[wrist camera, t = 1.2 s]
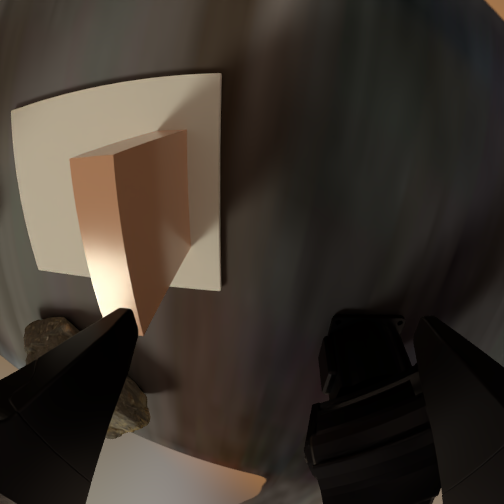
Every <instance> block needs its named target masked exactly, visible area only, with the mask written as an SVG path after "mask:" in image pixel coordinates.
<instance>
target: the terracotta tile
mask: <svg viewBox="0 0 504 504" xmlns="http://www.w3.org/2000/svg"><path fill="white" fill-rule="evenodd" d="M69 160H70V170H71V178H72V185H73V192H74V199H75V205H76V211H77V217H78V222H79V227H80V233H81V237H82V242H83V247H84V251H85V255H86V260H87V264H88V268H89V272H90V276H91V279H92V283H93V287H94V290H95V294H96V297H97V301H98V304H99V307H100V311H101V314H102V317H105V316H107V315H108V314H110V313H111V312H113V311H115V310H116V309H118V308H129V309H131V310H132V311H133V313H134V316H135V320H136V323H137V326H138V331H139V332H138V335H140V336H144V334H145V332H146V330H147V328H148V326H149V324H150V322H151V320H152V318H153V316H154V314H155V313H156V311H157V309H158V307H159V305H160V303H161V301H162V299H163V297H164V295H165V294H166V292H167V290H168V288H169V286H170V284H171V282H172V281H173V279H174V277H175V275H176V273H177V271H178V270H179V268H180V266H181V264H182V262H183V260H184V259H185V257H186V255H187V253H188V251H189V250H190V248H191V238H190V221H189V199H188V169H187V129H184V130H160V131H154V132H150V133H146V134H143V135H139V136H136V137H132V138H129V139H125V140H122V141H119V142H116V143H113V144H110V145H106V146H103V147H100V148H97V149H95V150H92V151H89V152H86V153H83V154H80V155H78V156H75V157H72V158H70V159H69Z"/></svg>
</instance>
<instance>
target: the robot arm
mask: <svg viewBox="0 0 504 504" xmlns="http://www.w3.org/2000/svg"><path fill="white" fill-rule="evenodd" d="M337 320H340V321H338V322H337ZM399 321H400V322H399ZM404 325H405V319H404V317H403V316H401V315H344V314H338V315H335V316H334V317H333V318H332V320H331V324H330V328H329V332H328V336H325V337H324V338H323V342H322V346H321V350H320V353H319V357H318V359H319V368H320V378H321V388H322V392H323V393H324V394H329V401H326V402H323V403H316V404H313V405H312V410H311V414H310V420H309V425H308V431H307V437H306V442H305V447H304V453H305V461H306V463H308V466H309V468H310V471H311V473H312V474H313V476H314V477H315V478H316V479H317V480H318V483H319V486H320V490H321V495H322V500H323V504H432V503H433V500H434V498H435V497H436V496H438V494H439V492H440V489H441V488H442V494H443V495H442V499H443V504H504V367H503V366H501V365H500V364H499V363H497V362H496V361H495V360H493V359H492V358H491V357H490V356H488V355H487V354H486V353H484V352H483V351H482V350H480V349H479V348H478V347H476V346H475V345H474V344H472V343H471V342H470V341H468V340H467V339H465V338H464V337H463V336H461V335H460V334H459V333H457V332H456V331H454V330H453V329H452V328H450V327H449V326H448V325H446V324H445V323H443V322H442V321H441V320H439V319H438V318H436V317H435V316H423V317H422V318H421V320H420V322H419V325H418V327H417V330H416V332H415V335H414V340H413V341H414V348H415V353H416V359H417V363H416V364H415V365H414V366H412V365H411V362H410V360H409V357H408V355H407V352H406V350H405V347H404V345H403V342H402V340H401V337H400V334H401V332H402V329H403V327H404ZM138 332H139V331H138V326H137V323H136V320H135V316H134V313H133V311H132V310H131V309H129V308H118V309H116V310H115V311H113V312H111V313H110V314H108V315H107V316H105V317H103V318H102V319H100V320H98V321H97V322H95V323H93V324H92V325H90V326H89V327H87V328H85V329H84V330H82V331H80V332H79V333H77V334H76V335H74V336H72V337H71V338H69V339H67V340H66V341H64V342H63V343H61V344H59V345H58V346H56V347H55V348H53V349H51V350H50V351H48V352H47V353H45V354H43V355H42V356H40V357H39V358H38V359H35V360H34V361H32V362H31V363H29V364H28V365H26V366H24V367H23V368H21V369H19V370H18V371H16V372H14V373H12V374H10V375H9V376H7V377H5V378H3V379H1V380H0V504H86V500H87V496H88V493H89V489H90V485H91V481H92V478H93V475H94V471H95V468H96V465H97V461H98V458H99V455H100V452H101V449H102V446H103V443H104V440H105V437H106V434H107V431H108V428H109V425H110V422H111V419H112V416H113V413H114V410H115V408H116V405H117V402H118V399H119V397H120V394H121V391H122V388H123V386H124V383H125V380H126V378H127V375H128V371H129V368H130V364H131V360H132V356H133V353H134V349H135V345H136V342H137V338H138Z"/></svg>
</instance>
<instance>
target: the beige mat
mask: <svg viewBox="0 0 504 504" xmlns="http://www.w3.org/2000/svg"><path fill="white" fill-rule="evenodd" d="M221 88H222V74H221V73H210V74H190V75H176V76H165V77H156V78H148V79H140V80H133V81H126V82H120V83H114V84H109V85H103V86H98V87H94V88H89V89H84V90H80V91H76V92H72V93H68V94H64V95H60V96H56V97H53V98H49V99H46V100H42V101H39V102H36V103H33V104H30V105H27V106H24V107H21V108H18V109H15V110H12V111H11V123H12V138H13V149H14V158H15V166H16V173H17V180H18V186H19V192H20V197H21V203H22V208H23V212H24V217H25V221H26V226H27V230H28V234H29V238H30V242H31V245H32V249H33V252H34V256H35V259H36V263H37V266H38V269H39V270H43V271H50V272H57V273H64V274H71V275H78V276H85V277H91V276H90V272H89V268H88V264H87V260H86V255H85V251H84V247H83V242H82V237H81V233H80V227H79V222H78V217H77V211H76V205H75V199H74V192H73V185H72V178H71V170H70V160H69V159H70V158H72V157H75V156H78V155H80V154H83V153H86V152H89V151H92V150H95V149H97V148H100V147H103V146H106V145H110V144H113V143H116V142H119V141H122V140H125V139H129V138H132V137H136V136H139V135H143V134H146V133H150V132H154V131H160V130H184V129H187V169H188V199H189V221H190V238H191V248H190V250H189V251H188V253H187V255H186V257H185V259H184V260H183V262H182V264H181V266H180V268H179V270H178V271H177V273H176V275H175V277H174V279H173V281H172V282H171V284H170V286H171V287H181V288H191V289H202V290H214V291H221V237H220V138H221Z"/></svg>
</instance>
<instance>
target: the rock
mask: <svg viewBox="0 0 504 504" xmlns="http://www.w3.org/2000/svg"><path fill="white" fill-rule="evenodd" d="M79 332H80V331H79V330H78V329H77V328H76V327H74V326H73V325H72V324H71V323H70V322H69V321H68V320H67V319H66V318H65V317H49V318H46V319H44V320H37V321H34V322H32V323H30V324H29V325H28V326H27V327H26V328H25V335H24V349H25V352H26V353H27V358H26V365H28V364H29V363H31V362H32V361H34V360H35V359H38V358H39V357H40V356H42V355H43V354H45V353H47V352H48V351H50V350H51V349H53V348H55V347H56V346H58V345H59V344H61V343H63V342H64V341H66V340H67V339H69V338H71V337H72V336H74V335H76V334H77V333H79ZM149 422H150V414H149V410H148V408H147V397H146V395H145V394H144V393H143V392H142V391H141V390H140V389H139V387H138V385H137V384H136V382H134V381H133V380H132V379H130V378H129V377H128V376H127V378H126V380H125V383H124V386H123V388H122V391H121V394H120V397H119V399H118V402H117V405H116V408H115V410H114V413H113V416H112V419H111V422H110V425H109V428H108V431H107V434H106V437H105V438H108V439H114V438H117V437H120V436H121V435H122V434H124V433H127V432H134V431H135V430H138V429H141V428H143V427H145V426H147V425H148V423H149Z"/></svg>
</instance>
